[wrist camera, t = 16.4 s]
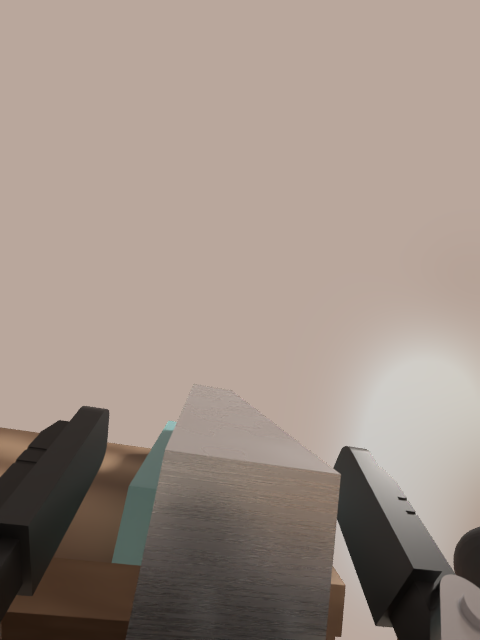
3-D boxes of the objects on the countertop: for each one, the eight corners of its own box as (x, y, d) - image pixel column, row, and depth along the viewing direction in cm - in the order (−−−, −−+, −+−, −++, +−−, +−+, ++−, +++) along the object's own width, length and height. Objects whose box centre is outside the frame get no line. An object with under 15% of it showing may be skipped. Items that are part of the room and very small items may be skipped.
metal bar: (184, 430, 24) (193, 384, 25) (224, 436, 24) (231, 390, 25) (109, 715, 4) (164, 449, 5) (317, 723, 5) (341, 474, 6)
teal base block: (161, 453, 26) (168, 420, 27) (233, 463, 27) (239, 431, 28) (111, 563, 12) (129, 485, 12) (272, 578, 12) (281, 504, 13)
